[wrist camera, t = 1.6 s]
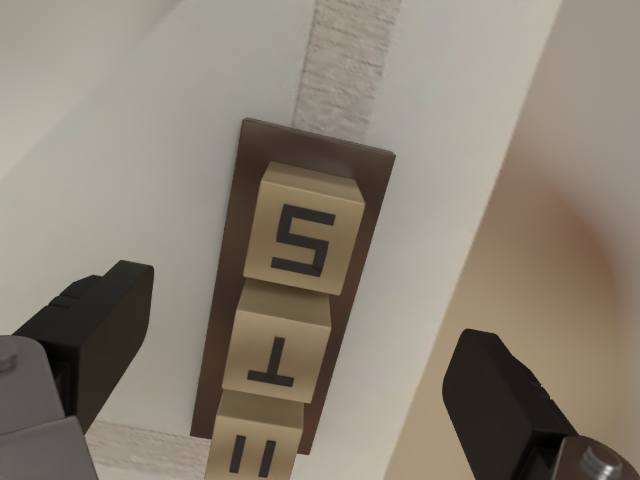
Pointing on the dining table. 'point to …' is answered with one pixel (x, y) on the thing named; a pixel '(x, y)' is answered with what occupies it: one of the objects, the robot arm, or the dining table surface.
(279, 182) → the letter S
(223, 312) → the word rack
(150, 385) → the dining table surface
